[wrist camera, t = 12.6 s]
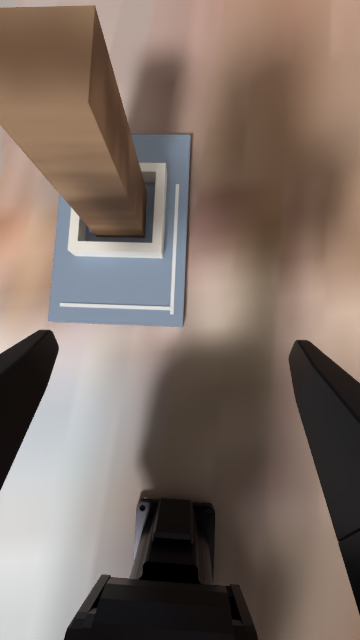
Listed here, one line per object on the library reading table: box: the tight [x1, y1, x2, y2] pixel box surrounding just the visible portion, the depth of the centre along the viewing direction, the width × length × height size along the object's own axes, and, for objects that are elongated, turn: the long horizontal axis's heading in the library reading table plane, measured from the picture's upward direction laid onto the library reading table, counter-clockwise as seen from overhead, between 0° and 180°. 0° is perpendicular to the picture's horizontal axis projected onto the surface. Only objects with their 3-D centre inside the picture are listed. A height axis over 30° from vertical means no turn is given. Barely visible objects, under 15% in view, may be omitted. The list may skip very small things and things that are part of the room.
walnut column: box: [0, 6, 147, 238], centre depth 17 cm, size 4×4×13 cm
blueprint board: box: [48, 134, 190, 327], centre depth 23 cm, size 18×12×2 cm, turn 178°
